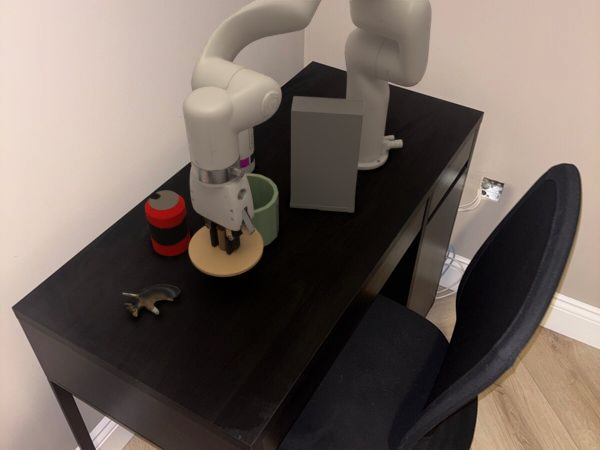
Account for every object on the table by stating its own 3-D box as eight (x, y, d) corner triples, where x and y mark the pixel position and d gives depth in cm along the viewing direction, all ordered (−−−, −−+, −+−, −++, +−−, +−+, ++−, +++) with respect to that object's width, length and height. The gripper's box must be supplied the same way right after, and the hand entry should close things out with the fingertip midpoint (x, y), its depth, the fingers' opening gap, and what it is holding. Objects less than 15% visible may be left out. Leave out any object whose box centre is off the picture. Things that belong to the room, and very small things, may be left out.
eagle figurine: (148, 333, 105) (188, 301, 109) (124, 303, 103) (166, 270, 106) (136, 323, 112) (175, 293, 115) (114, 294, 109) (154, 264, 113)
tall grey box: (354, 194, 134) (364, 97, 117) (353, 213, 130) (363, 115, 113) (292, 190, 135) (293, 93, 118) (289, 209, 131) (290, 111, 113)
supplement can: (239, 184, 137) (234, 129, 126) (212, 170, 140) (206, 115, 130) (262, 166, 141) (259, 112, 131) (235, 153, 145) (231, 99, 134)
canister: (273, 208, 131) (272, 170, 124) (283, 247, 123) (282, 209, 115) (218, 215, 129) (213, 177, 122) (224, 255, 121) (219, 216, 113)
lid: (257, 220, 113) (256, 195, 109) (269, 273, 104) (267, 248, 100) (187, 230, 111) (182, 205, 107) (192, 284, 102) (187, 259, 98)
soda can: (168, 226, 126) (159, 182, 118) (198, 238, 124) (191, 194, 116) (145, 249, 122) (135, 205, 113) (176, 262, 119) (168, 218, 111)
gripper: (272, 170, 93) (275, 251, 106) (192, 135, 99) (204, 215, 112) (242, 197, 88) (249, 278, 101) (160, 158, 95) (177, 240, 108)
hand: (225, 245), depth 107 cm, fingers closed on lid, 2 cm apart
